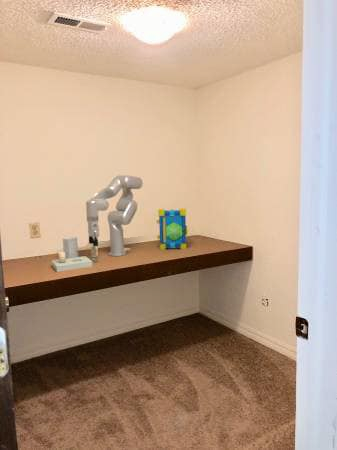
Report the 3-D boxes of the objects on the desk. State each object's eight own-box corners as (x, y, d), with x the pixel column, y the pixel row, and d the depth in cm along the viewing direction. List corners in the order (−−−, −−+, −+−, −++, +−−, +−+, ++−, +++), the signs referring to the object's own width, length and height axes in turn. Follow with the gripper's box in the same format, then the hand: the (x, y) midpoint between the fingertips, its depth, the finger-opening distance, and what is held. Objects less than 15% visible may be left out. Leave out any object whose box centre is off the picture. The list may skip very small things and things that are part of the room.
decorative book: (187, 250, 272) (187, 210, 268) (157, 250, 273) (155, 210, 268) (187, 245, 286) (186, 207, 282) (157, 246, 287) (156, 208, 282)
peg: (97, 260, 247) (96, 246, 245) (99, 262, 243) (98, 247, 242) (91, 261, 245) (90, 247, 243) (93, 262, 241) (92, 248, 240)
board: (85, 261, 246) (85, 246, 245) (92, 266, 232) (91, 251, 231) (52, 265, 236) (51, 250, 235) (57, 271, 222) (55, 255, 221)
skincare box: (69, 260, 248) (68, 239, 246) (63, 259, 252) (62, 238, 249) (78, 258, 255) (77, 237, 253) (72, 257, 259) (71, 236, 256)
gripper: (102, 220, 233) (102, 246, 236) (94, 217, 249) (95, 242, 251) (90, 220, 230) (91, 247, 232) (83, 218, 245) (84, 243, 247)
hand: (93, 244), depth 242 cm, fingers open, 9 cm apart
